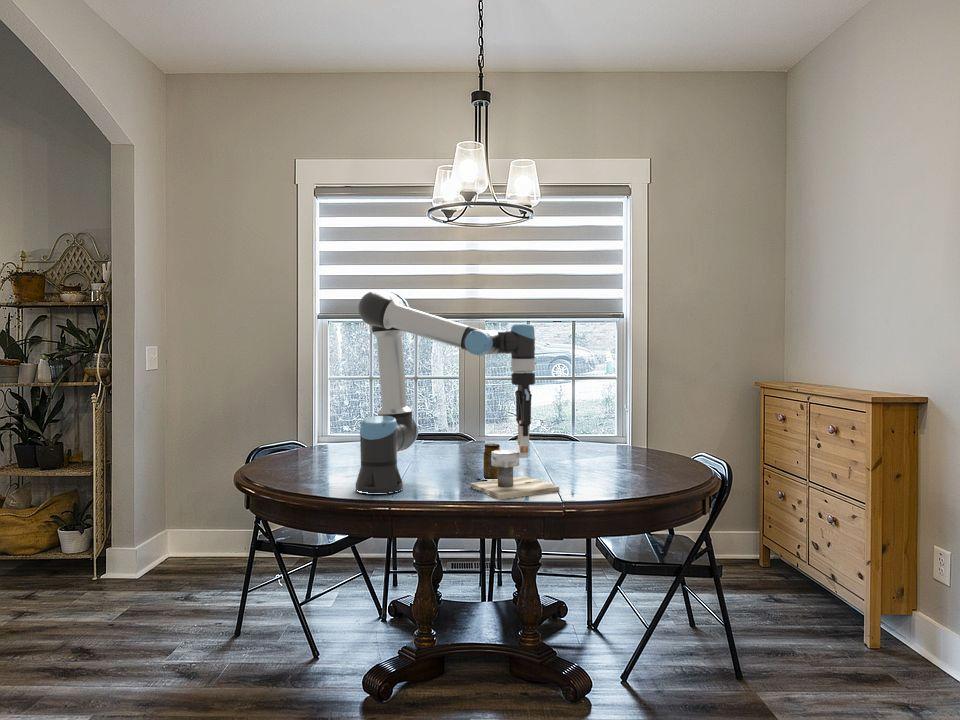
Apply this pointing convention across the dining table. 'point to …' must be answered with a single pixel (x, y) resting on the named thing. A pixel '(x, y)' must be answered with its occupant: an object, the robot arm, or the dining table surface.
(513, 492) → the post base
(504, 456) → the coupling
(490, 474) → the condiment
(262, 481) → the dining table surface
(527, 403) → the robot arm
